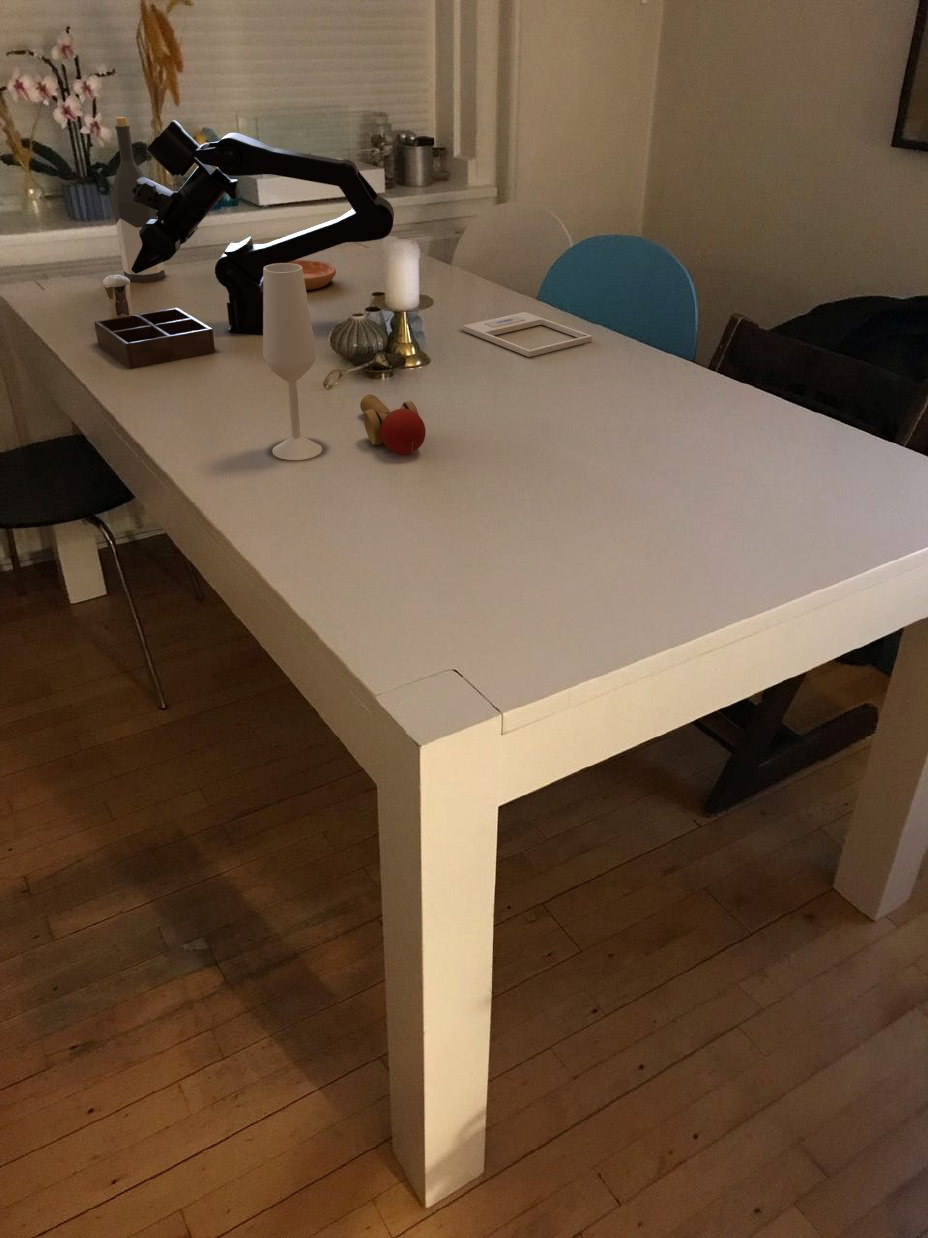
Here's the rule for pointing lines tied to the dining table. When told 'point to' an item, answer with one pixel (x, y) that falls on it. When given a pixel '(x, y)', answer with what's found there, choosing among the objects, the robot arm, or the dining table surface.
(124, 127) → the wine bottle
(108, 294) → the milkshake
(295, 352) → the champagne flute
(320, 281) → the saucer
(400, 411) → the kendama
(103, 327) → the organiser
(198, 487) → the dining table surface
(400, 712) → the dining table surface
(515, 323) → the photo frame
